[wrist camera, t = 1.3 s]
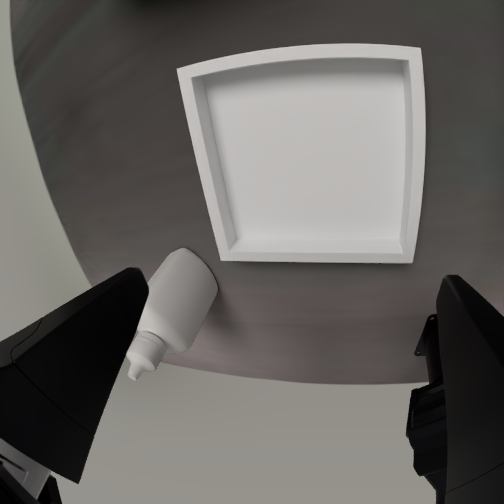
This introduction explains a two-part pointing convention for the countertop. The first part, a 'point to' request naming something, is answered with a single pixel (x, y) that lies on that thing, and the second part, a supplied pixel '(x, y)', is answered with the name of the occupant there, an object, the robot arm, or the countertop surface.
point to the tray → (311, 151)
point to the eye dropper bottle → (172, 310)
